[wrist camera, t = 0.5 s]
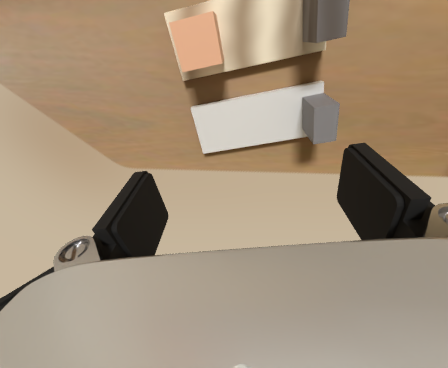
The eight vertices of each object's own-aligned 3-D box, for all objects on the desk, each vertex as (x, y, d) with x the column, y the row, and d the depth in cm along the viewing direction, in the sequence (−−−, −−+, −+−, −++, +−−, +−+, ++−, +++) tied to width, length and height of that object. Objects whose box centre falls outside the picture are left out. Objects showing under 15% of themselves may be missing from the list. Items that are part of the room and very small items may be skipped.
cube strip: (326, -30, 25) (354, -50, 19) (322, 49, 30) (344, 52, 24) (166, 13, 28) (147, 8, 22) (184, 79, 33) (173, 89, 27)
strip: (321, 80, 32) (340, 90, 26) (318, 131, 36) (335, 150, 30) (191, 106, 35) (182, 120, 29) (204, 150, 39) (198, 171, 33)
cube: (216, 14, 27) (212, 10, 23) (224, 59, 30) (222, 63, 26) (178, 24, 28) (168, 22, 24) (189, 67, 31) (182, 72, 26)
